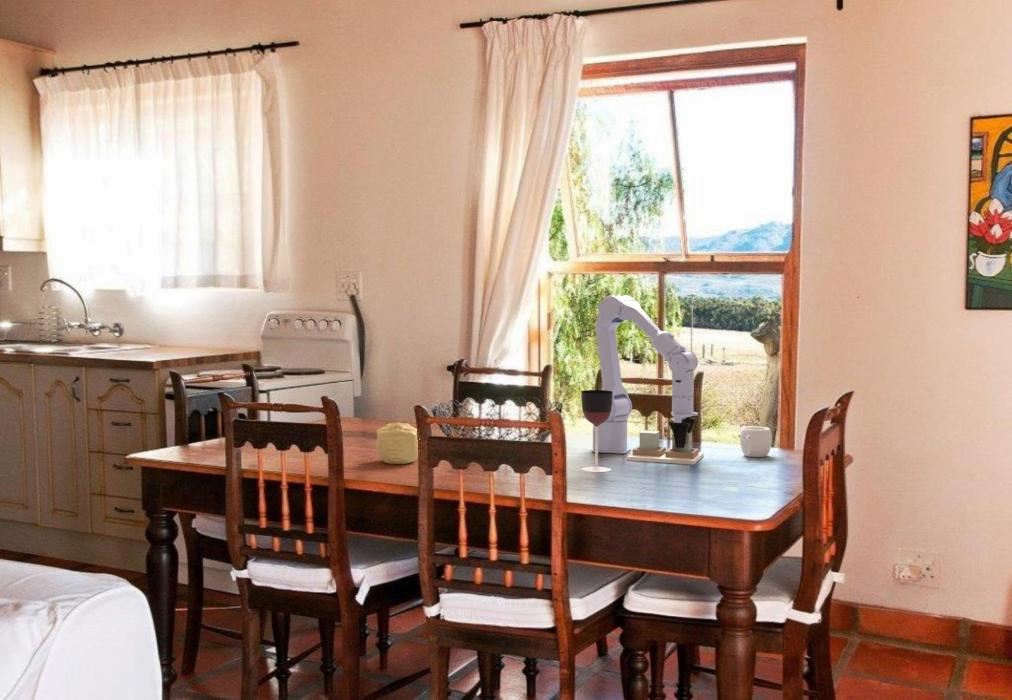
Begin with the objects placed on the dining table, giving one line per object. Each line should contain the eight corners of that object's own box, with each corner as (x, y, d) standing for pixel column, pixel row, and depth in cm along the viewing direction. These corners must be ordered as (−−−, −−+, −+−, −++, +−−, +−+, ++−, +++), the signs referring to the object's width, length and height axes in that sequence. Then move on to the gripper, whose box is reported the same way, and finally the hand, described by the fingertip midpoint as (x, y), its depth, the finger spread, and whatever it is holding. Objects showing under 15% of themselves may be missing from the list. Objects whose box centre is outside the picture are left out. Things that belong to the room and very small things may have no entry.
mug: (746, 452, 294) (747, 425, 293) (775, 455, 289) (776, 427, 289) (730, 458, 284) (730, 430, 283) (760, 461, 279) (760, 432, 279)
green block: (672, 456, 281) (672, 434, 281) (675, 453, 285) (675, 431, 285) (689, 457, 279) (688, 434, 279) (692, 454, 284) (691, 432, 283)
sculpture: (373, 466, 271) (373, 425, 271) (379, 458, 283) (379, 419, 283) (417, 466, 271) (417, 425, 270) (422, 458, 283) (421, 419, 282)
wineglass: (585, 472, 262) (585, 393, 261) (577, 466, 271) (577, 390, 270) (615, 472, 264) (616, 393, 262) (607, 465, 272) (607, 389, 271)
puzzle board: (627, 460, 281) (627, 434, 280) (639, 452, 294) (639, 427, 293) (693, 464, 274) (694, 438, 274) (703, 456, 287) (703, 431, 287)
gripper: (692, 399, 273) (691, 450, 274) (702, 394, 287) (701, 442, 288) (665, 398, 276) (665, 449, 276) (677, 393, 289) (676, 441, 290)
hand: (682, 446), depth 282 cm, fingers open, 5 cm apart
